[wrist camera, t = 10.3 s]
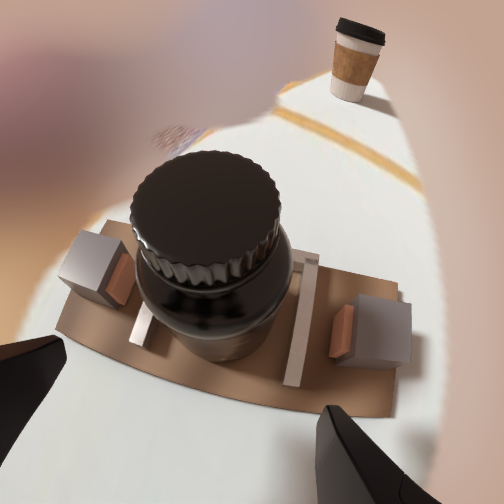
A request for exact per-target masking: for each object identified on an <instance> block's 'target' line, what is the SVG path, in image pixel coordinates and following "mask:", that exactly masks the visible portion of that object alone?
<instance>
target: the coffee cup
mask: <svg viewBox="0 0 504 504" xmlns="http://www.w3.org/2000/svg"><path fill="white" fill-rule="evenodd" d="M336 31H338V33H337V41H335V51H334V62H333V71H332V80H331V87H330V92H331V93H332V94H333V95H334V96H336V97H338V98H340V99H342V100H345V101H349V102H360V101H361V99H362V96H363V94H364V91H365V89H366V86H367V84H368V82H369V80H370V77H371V75H372V73H373V70H374V68H375V65H376V63H377V61H378V58H379V56H380V55H379V52H380V50H381V47H382V46H384V45H385V33H383V32H382V31H379V30H377V29H374V28H372V27H369V26H366V25H363V24H360V23H357V22H354V21H350V20H348V19H345V18H340V19H339V22H338V25H337V26H336Z"/></svg>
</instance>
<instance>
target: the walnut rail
mask: <svg viewBox="0 0 504 504" xmlns="http://www.w3.org/2000/svg"><path fill="white" fill-rule="evenodd" d="M137 248H138V242H137V241H136V239H135V237H134V235H133V233H132V225H131V224H126V223H122V222H117V221H112V220H107V221H106V223H105V225H104V226H103V228H102V230H101V232H100V234H96V233H92V232H88V231H84V230H80V232H79V234H78V235H77V237H76V239H75V241H74V242H73V244H72V246H71V248H70V250H69V252H68V254H67V255H66V257H65V259H64V261H63V263H62V265H61V267H60V269H59V271H58V273H57V276H58V277H59V278H60V279H61V280H62V281H63V282H64V283H65V284H67V285H68V286H69V287H70V288H71V291H70V294H69V296H68V298H67V301H66V303H65V305H64V308H63V310H62V313H61V315H60V318H59V320H58V323H57V325H56V328H55V330H57V331H59V332H60V333H62V334H64V335H66V336H68V337H70V338H72V339H73V340H75V341H77V342H79V343H81V344H83V345H85V346H87V347H89V348H91V349H94V350H96V351H98V352H100V353H102V354H104V355H106V356H109V357H111V358H113V359H115V360H118V361H120V362H123V363H125V364H127V365H130V366H132V367H135V368H137V369H140V370H142V371H145V372H148V373H150V374H153V375H156V376H159V377H161V378H164V379H167V380H170V381H173V382H176V383H179V384H182V385H186V386H189V387H192V388H196V389H199V390H202V391H206V392H210V393H213V394H217V395H221V396H225V397H229V398H233V399H237V400H242V401H246V402H251V403H256V404H261V405H266V406H272V407H277V408H283V409H290V410H296V411H304V412H312V413H322V411H323V409H324V407H325V406H326V405H339V406H340V407H341V408H342V409H343V410H344V411H345V412H346V413H347V414H348V415H349V416H360V417H390V411H391V405H392V397H393V389H394V380H395V370H396V367H398V366H401V365H404V364H407V363H410V360H411V332H412V315H411V304H410V303H405V302H400V301H398V283H396V282H392V281H387V280H383V279H378V278H374V277H369V276H365V275H360V274H355V273H351V272H346V271H342V270H337V269H333V268H328V267H324V266H319V265H318V263H319V254H314V253H310V252H305V251H301V250H296V249H292V253H293V274H292V279H291V283H290V287H289V289H288V292H287V294H286V297H285V299H284V301H283V304H282V306H281V308H280V310H279V313H278V315H277V317H276V319H275V322H274V324H273V326H272V328H271V330H270V333H269V335H268V336H267V338H266V340H265V341H264V343H263V344H262V345H261V346H260V347H259V348H258V349H257V350H256V351H255V352H253V353H252V354H251V355H249V356H247V357H245V358H243V359H241V360H238V361H234V362H228V363H217V362H211V361H208V360H205V359H202V358H200V357H198V356H196V355H194V354H193V353H192V352H190V351H189V350H188V349H187V348H185V347H184V346H183V345H182V344H181V343H180V342H179V341H178V340H177V339H176V338H175V337H174V336H173V335H172V334H171V333H170V332H169V331H168V330H167V329H166V328H165V327H164V326H163V325H162V324H161V322H160V321H159V320H158V319H157V318H156V317H155V316H154V315H153V314H152V312H151V311H150V310H149V308H148V307H147V306H146V304H145V302H144V301H143V299H142V297H141V295H140V292H139V290H138V287H137V283H136V277H135V258H136V252H137Z"/></svg>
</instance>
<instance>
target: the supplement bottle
mask: <svg viewBox="0 0 504 504" xmlns="http://www.w3.org/2000/svg"><path fill="white" fill-rule="evenodd" d="M279 198H280V193H279V191H278V190H277V189H276V185H275V181H273V180H272V179H271V178H270V175H269V173H268V172H266V171H265V170H263V169H262V167H261V166H260V165H259V164H256V163H254V162H253V161H252V160H251V159H248V158H244V157H243V156H241V155H239V154H232V153H230V152H220V151H216V150H213V151H199V152H193V153H188V154H186V155H182V156H177V157H176V158H174V159H173V160H169V161H166V162H165V163H164V164H163V165H162V166H159V167H157V168H156V169H155V170H154V171H153V172H152V173H151V174H149V175H148V176H146V178H145V180H144V181H143V182H142V183H141V184H140V185H139V186H138V190H137V192H136V193H135V194H134V196H133V202H132V204H131V206H130V209H131V215H130V222H131V224H132V233H133V235H134V237H135V239H136V241H137V242H138V248H137V252H136V258H135V277H136V283H137V287H138V290H139V292H140V295H141V297H142V299H143V301H144V302H145V304H146V306H147V307H148V308H149V310H150V311H151V312H152V314H153V315H154V316H155V317H156V318H157V319H158V320H159V321H160V322H161V324H162V325H163V326H164V327H165V328H166V329H167V330H168V331H169V332H170V333H171V334H172V335H173V336H174V337H175V338H176V339H177V340H178V341H179V342H180V343H181V344H182V345H183V346H184V347H185V348H187V349H188V350H189V351H190V352H192V353H193V354H194V355H196V356H198V357H200V358H202V359H205V360H208V361H211V362H217V363H228V362H234V361H238V360H241V359H243V358H245V357H247V356H249V355H251V354H252V353H253V352H255V351H256V350H257V349H258V348H259V347H260V346H261V345H262V344H263V343H264V341H265V340H266V338H267V336H268V335H269V333H270V330H271V328H272V326H273V324H274V322H275V319H276V317H277V315H278V313H279V310H280V308H281V306H282V304H283V301H284V299H285V297H286V294H287V292H288V289H289V287H290V283H291V279H292V274H293V253H292V248H291V245H290V241H289V239H288V237H287V234H286V232H285V231H284V229H283V227H282V226H281V224H280V223H279V222H280V213H281V202H280V200H279Z"/></svg>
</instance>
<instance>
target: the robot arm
mask: <svg viewBox="0 0 504 504" xmlns="http://www.w3.org/2000/svg"><path fill="white" fill-rule="evenodd" d="M66 361H67V355H66V351H65V346H64V342H63V340H62V339H61V338H60V337H58V336H56V335H49V336H45V337H40V338H35V339H30V340H26V341H21V342H16V343H10V344H6V345H1V346H0V467H1V465H2V463H3V461H4V460H5V458H6V456H7V454H8V453H9V451H10V449H11V448H12V446H13V445H14V443H15V441H16V440H17V438H18V437H19V435H20V433H21V432H22V430H23V429H24V427H25V426H26V424H27V423H28V421H29V420H30V418H31V417H32V415H33V414H34V412H35V411H36V409H37V408H38V407H39V405H40V404H41V402H42V401H43V399H44V398H45V397H46V395H47V394H48V392H49V391H50V389H51V387H52V386H53V384H54V382H55V380H56V379H57V377H58V375H59V373H60V372H61V370H62V368H63V367H64V365H65V363H66ZM315 472H316V484H317V496H318V504H442V503H440V502H438V501H437V500H436V499H434V498H433V497H432V496H430V495H429V494H428V493H427V492H425V491H424V490H423V489H422V488H421V487H419V486H418V485H417V484H416V483H415V482H414V481H413V480H412V479H411V478H410V477H409V476H408V475H407V474H404V472H403V471H402V470H401V469H400V468H399V467H398V466H397V465H396V464H395V463H394V462H393V461H392V460H391V459H390V458H389V457H388V456H387V455H386V454H385V453H384V452H383V451H382V450H381V449H380V448H379V447H378V446H377V445H376V444H375V443H374V442H373V441H372V439H371V438H370V437H369V436H368V435H367V434H366V433H365V432H364V431H363V430H362V429H361V428H360V427H359V426H358V425H357V424H356V423H355V422H354V421H353V420H352V419H351V417H350V416H349V415H348V414H347V413H346V412H345V411H344V410H343V409H342V408H341V407H340V406H339V405H326V406H325V407H324V409H323V411H322V413H321V416H320V418H319V420H318V422H317V427H316V457H315Z"/></svg>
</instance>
